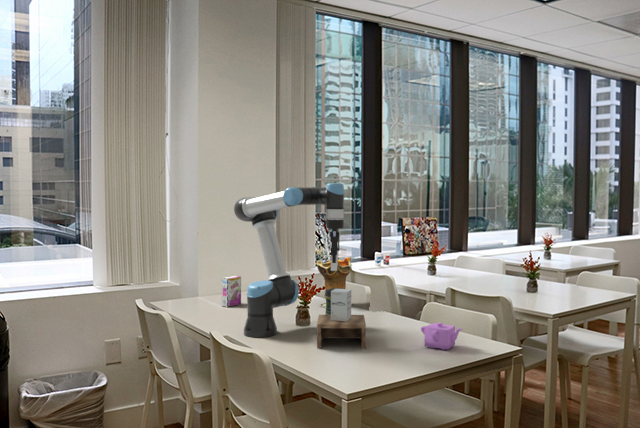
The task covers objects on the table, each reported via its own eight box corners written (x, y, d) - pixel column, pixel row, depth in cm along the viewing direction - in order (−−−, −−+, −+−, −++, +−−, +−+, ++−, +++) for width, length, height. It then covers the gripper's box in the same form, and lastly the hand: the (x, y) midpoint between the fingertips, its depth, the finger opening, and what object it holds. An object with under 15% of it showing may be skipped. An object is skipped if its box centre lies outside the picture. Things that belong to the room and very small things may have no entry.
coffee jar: (330, 329, 255) (330, 290, 255) (322, 326, 262) (322, 288, 261) (348, 327, 260) (348, 288, 259) (339, 323, 267) (339, 286, 266)
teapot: (467, 347, 225) (467, 322, 225) (457, 355, 214) (457, 329, 213) (426, 341, 235) (426, 317, 235) (414, 348, 223) (414, 324, 223)
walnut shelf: (317, 348, 224) (316, 324, 224) (318, 337, 242) (318, 314, 242) (365, 348, 224) (365, 324, 223) (364, 337, 242) (363, 314, 241)
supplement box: (330, 320, 230) (330, 291, 230) (335, 317, 237) (335, 288, 237) (347, 322, 228) (346, 291, 227) (351, 318, 235) (351, 289, 234)
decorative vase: (309, 307, 304) (310, 257, 304) (325, 302, 325) (326, 255, 325) (344, 310, 296) (345, 259, 296) (358, 304, 317) (359, 256, 317)
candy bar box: (227, 307, 307) (227, 278, 307) (221, 306, 310) (221, 277, 310) (241, 304, 316) (241, 276, 316) (235, 303, 319) (235, 275, 319)
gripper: (343, 220, 222) (342, 272, 223) (343, 217, 247) (343, 264, 248) (325, 220, 222) (324, 272, 223) (327, 217, 247) (326, 263, 248)
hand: (334, 268), depth 236 cm, fingers open, 13 cm apart
